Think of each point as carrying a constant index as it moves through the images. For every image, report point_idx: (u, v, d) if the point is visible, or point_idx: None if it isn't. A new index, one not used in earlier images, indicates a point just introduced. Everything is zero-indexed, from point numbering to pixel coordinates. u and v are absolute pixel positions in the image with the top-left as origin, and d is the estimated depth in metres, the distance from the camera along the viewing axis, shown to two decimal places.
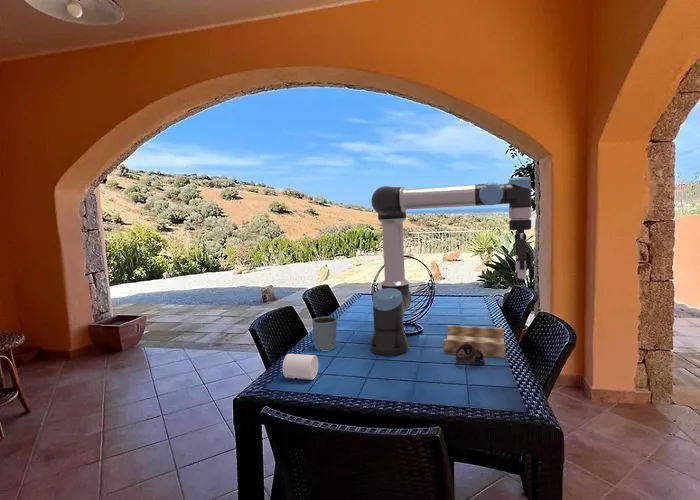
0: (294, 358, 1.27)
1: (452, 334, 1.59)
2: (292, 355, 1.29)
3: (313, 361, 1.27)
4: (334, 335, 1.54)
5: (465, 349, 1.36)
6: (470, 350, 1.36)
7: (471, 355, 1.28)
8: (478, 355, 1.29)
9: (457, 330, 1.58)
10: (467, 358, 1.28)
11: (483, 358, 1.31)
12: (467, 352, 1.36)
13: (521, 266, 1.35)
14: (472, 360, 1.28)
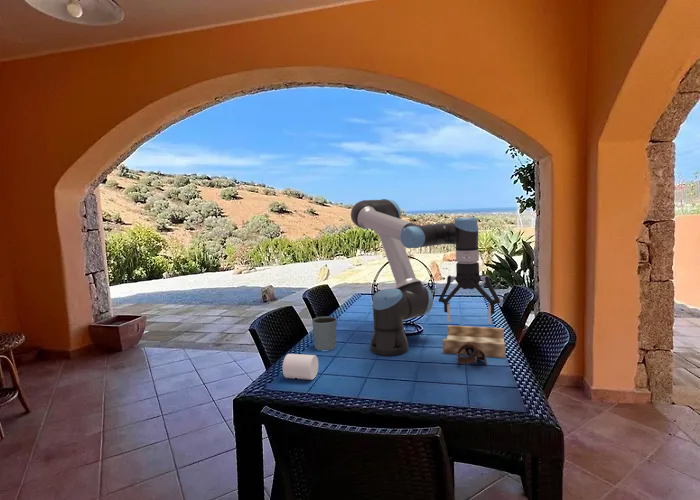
0: (294, 358, 1.27)
1: (452, 334, 1.59)
2: (292, 355, 1.29)
3: (313, 361, 1.27)
4: (334, 335, 1.54)
5: (467, 349, 1.36)
6: (472, 350, 1.36)
7: (473, 355, 1.28)
8: (480, 355, 1.28)
9: (457, 330, 1.58)
10: (469, 358, 1.28)
11: (485, 358, 1.31)
12: (469, 352, 1.36)
13: None
14: (474, 360, 1.27)
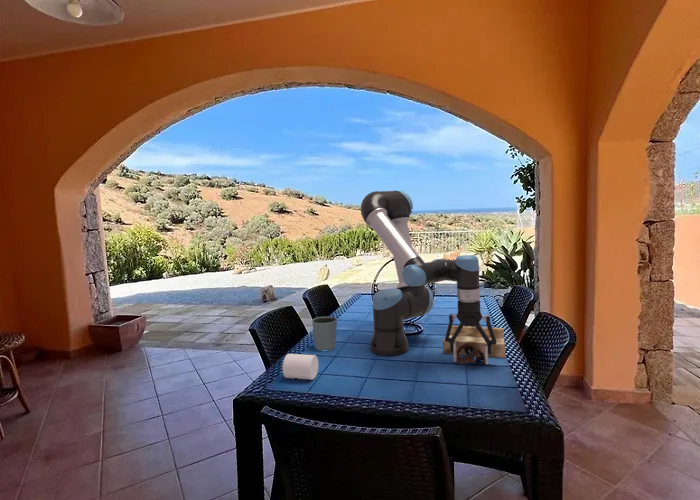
0: (294, 358, 1.27)
1: (452, 334, 1.59)
2: (292, 355, 1.29)
3: (313, 361, 1.27)
4: (334, 335, 1.54)
5: (466, 349, 1.36)
6: (471, 350, 1.36)
7: (472, 355, 1.28)
8: (479, 355, 1.28)
9: None
10: (468, 358, 1.28)
11: (484, 358, 1.31)
12: (468, 352, 1.36)
13: None
14: (473, 360, 1.28)
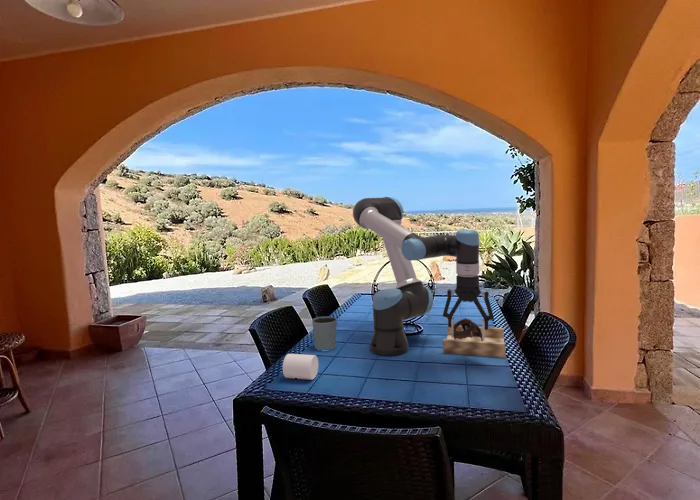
0: (294, 358, 1.27)
1: None
2: (292, 355, 1.29)
3: (313, 361, 1.27)
4: (334, 335, 1.54)
5: (463, 325, 1.36)
6: (468, 326, 1.35)
7: (469, 330, 1.28)
8: (476, 331, 1.28)
9: (457, 330, 1.58)
10: (464, 333, 1.28)
11: (481, 334, 1.31)
12: (465, 328, 1.36)
13: None
14: (469, 335, 1.27)
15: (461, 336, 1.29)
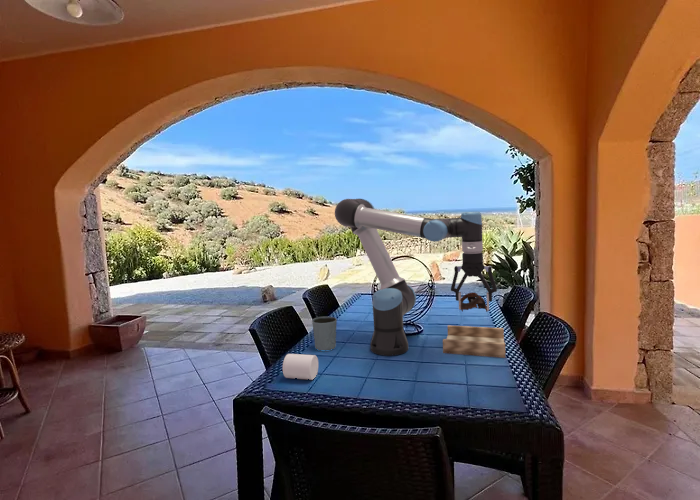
0: (294, 358, 1.27)
1: (452, 334, 1.59)
2: (292, 355, 1.29)
3: (313, 361, 1.27)
4: (334, 335, 1.54)
5: (469, 299, 1.50)
6: (474, 300, 1.49)
7: (474, 301, 1.42)
8: (481, 302, 1.42)
9: (457, 330, 1.58)
10: (471, 304, 1.42)
11: (485, 306, 1.45)
12: None
13: (456, 297, 1.49)
14: (475, 306, 1.41)
15: (468, 307, 1.43)
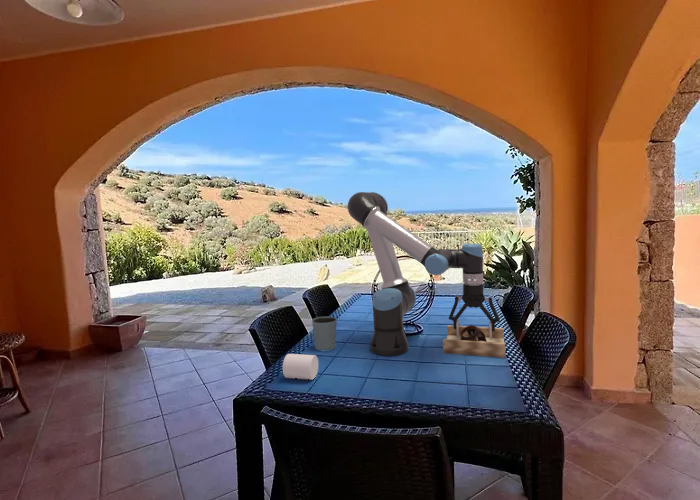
0: (294, 358, 1.27)
1: (452, 334, 1.59)
2: (292, 355, 1.29)
3: (313, 361, 1.27)
4: (334, 335, 1.54)
5: (469, 331, 1.51)
6: (473, 332, 1.51)
7: (474, 335, 1.43)
8: (480, 335, 1.44)
9: None
10: (471, 338, 1.43)
11: (485, 339, 1.46)
12: (471, 334, 1.52)
13: None
14: (475, 340, 1.43)
15: None
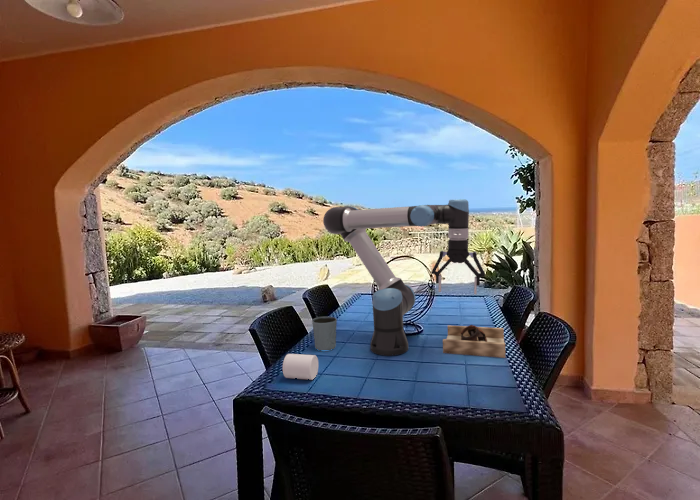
0: (294, 358, 1.27)
1: (452, 334, 1.59)
2: (292, 355, 1.29)
3: (313, 361, 1.27)
4: (334, 335, 1.54)
5: (469, 331, 1.51)
6: (474, 332, 1.51)
7: (475, 335, 1.43)
8: (481, 335, 1.44)
9: (457, 330, 1.58)
10: (471, 338, 1.43)
11: (486, 339, 1.46)
12: (471, 334, 1.51)
13: (436, 279, 1.52)
14: (476, 340, 1.43)
15: None
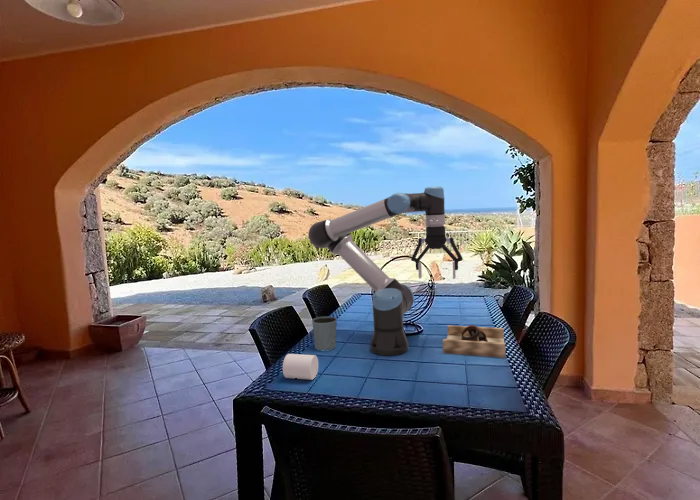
0: (294, 358, 1.27)
1: (452, 334, 1.59)
2: (292, 355, 1.29)
3: (313, 361, 1.27)
4: (334, 335, 1.54)
5: (470, 331, 1.51)
6: (474, 332, 1.51)
7: (475, 335, 1.43)
8: (481, 336, 1.44)
9: (457, 330, 1.58)
10: (472, 338, 1.43)
11: (486, 339, 1.46)
12: (472, 334, 1.51)
13: (416, 266, 1.56)
14: (476, 340, 1.43)
15: None
